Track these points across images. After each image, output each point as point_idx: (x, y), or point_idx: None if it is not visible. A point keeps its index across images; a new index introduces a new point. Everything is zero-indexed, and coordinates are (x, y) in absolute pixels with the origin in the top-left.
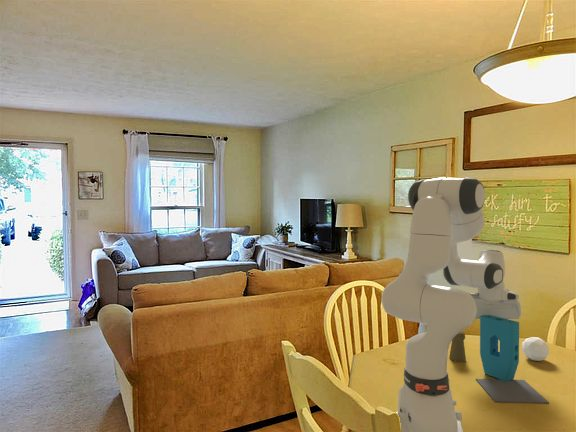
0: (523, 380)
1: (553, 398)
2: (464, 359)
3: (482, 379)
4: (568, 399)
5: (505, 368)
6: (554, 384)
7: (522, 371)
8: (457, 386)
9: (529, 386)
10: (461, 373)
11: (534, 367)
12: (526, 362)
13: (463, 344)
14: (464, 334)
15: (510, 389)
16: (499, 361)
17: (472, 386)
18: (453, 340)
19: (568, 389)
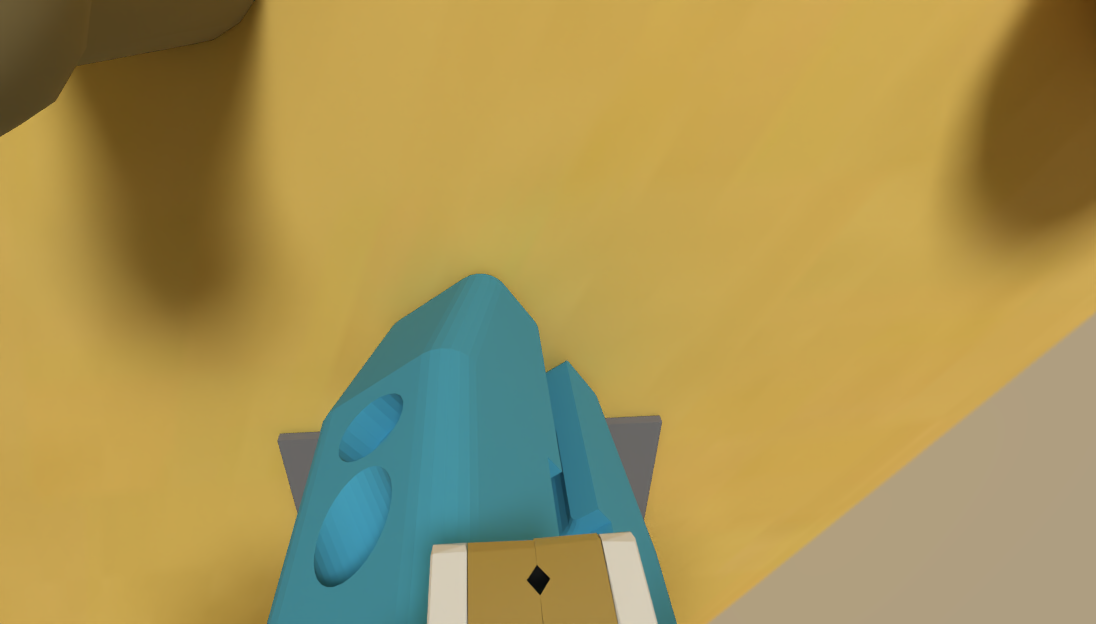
0: (652, 430)
1: (688, 570)
2: (227, 23)
3: None
4: (761, 569)
5: None
6: (839, 437)
7: (773, 258)
8: (116, 525)
9: (636, 496)
10: (164, 337)
11: (961, 164)
12: (998, 30)
13: (117, 32)
14: (16, 77)
15: None
16: None
17: (232, 514)
18: None
19: (866, 483)
